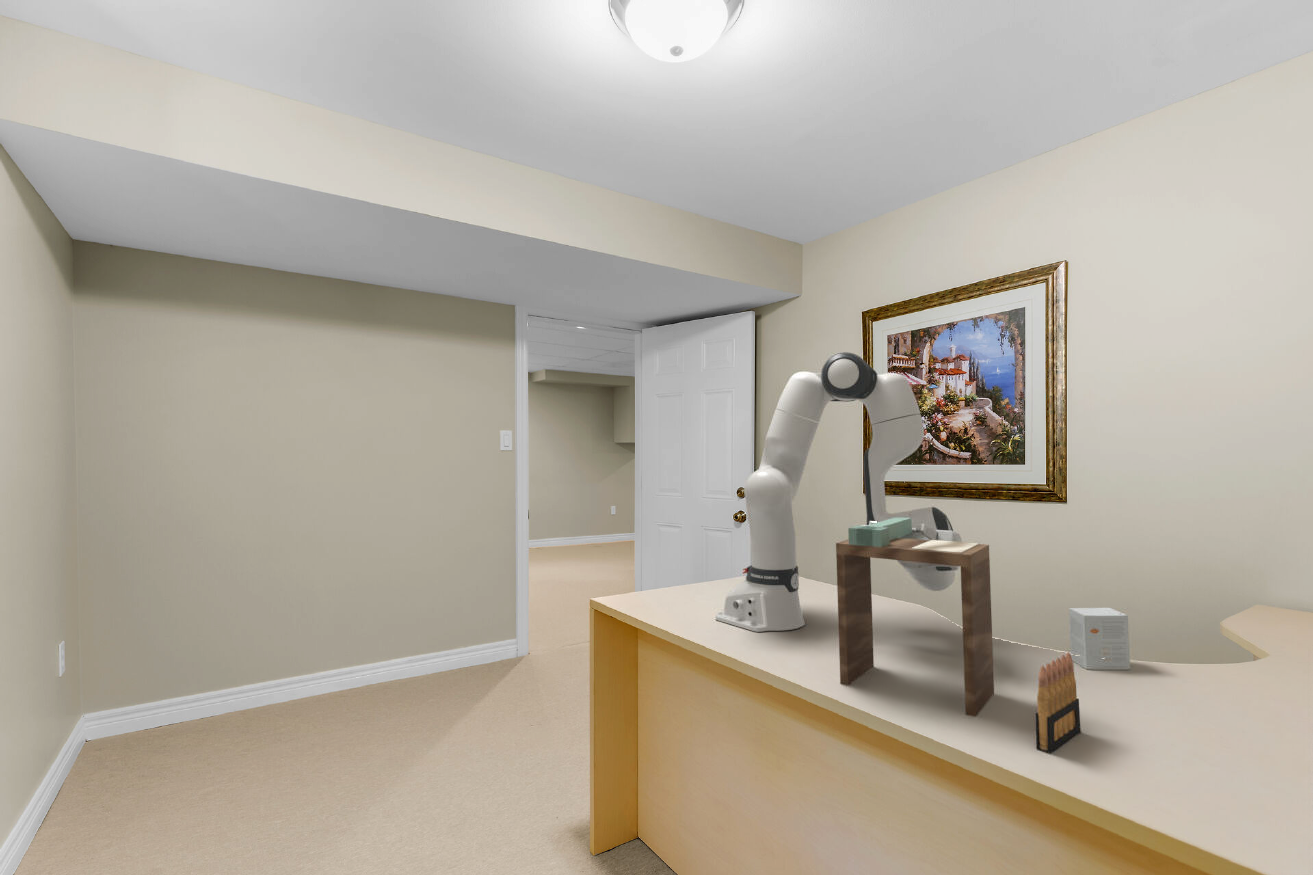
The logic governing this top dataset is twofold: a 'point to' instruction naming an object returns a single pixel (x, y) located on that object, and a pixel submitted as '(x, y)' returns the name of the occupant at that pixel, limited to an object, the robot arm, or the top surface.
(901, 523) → the sage lever
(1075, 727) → the ammunition clip
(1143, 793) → the top surface
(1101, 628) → the small box
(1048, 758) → the top surface
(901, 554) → the walnut shelf
